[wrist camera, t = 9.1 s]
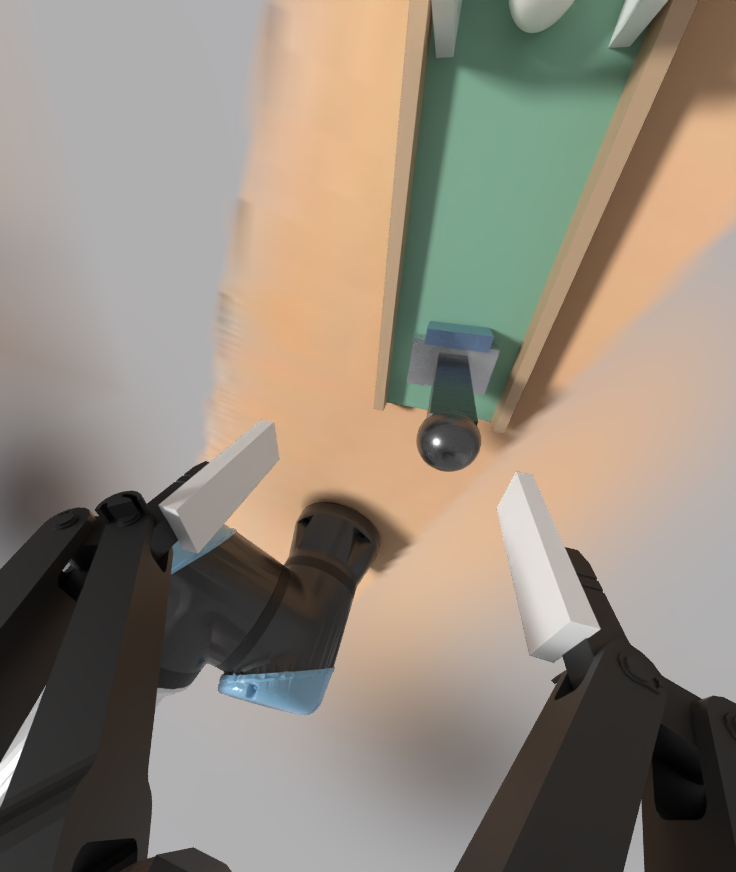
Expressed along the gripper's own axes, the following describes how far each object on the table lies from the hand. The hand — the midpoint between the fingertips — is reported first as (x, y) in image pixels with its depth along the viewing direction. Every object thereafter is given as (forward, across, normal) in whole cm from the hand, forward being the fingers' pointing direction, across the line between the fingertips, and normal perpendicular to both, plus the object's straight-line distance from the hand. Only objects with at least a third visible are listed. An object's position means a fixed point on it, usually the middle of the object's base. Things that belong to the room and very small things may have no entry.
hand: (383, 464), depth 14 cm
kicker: (+14, -3, -2) cm, 15 cm away
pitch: (+15, -3, -12) cm, 19 cm away
